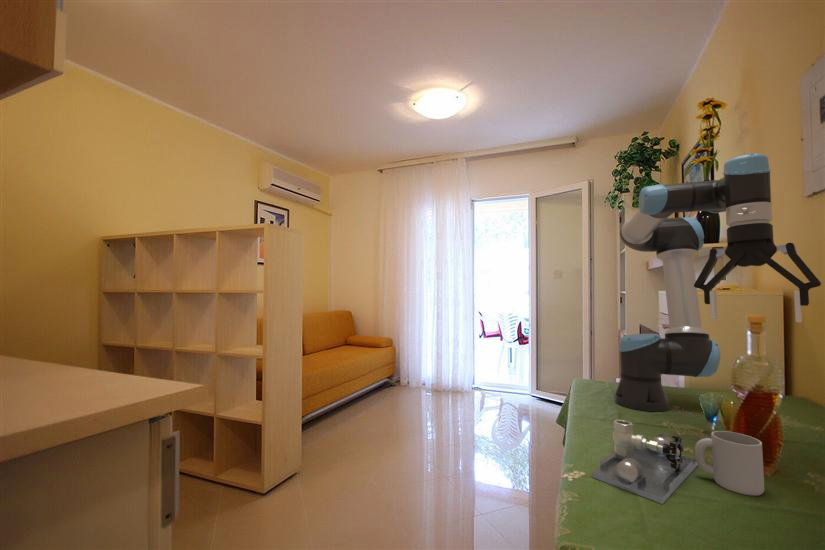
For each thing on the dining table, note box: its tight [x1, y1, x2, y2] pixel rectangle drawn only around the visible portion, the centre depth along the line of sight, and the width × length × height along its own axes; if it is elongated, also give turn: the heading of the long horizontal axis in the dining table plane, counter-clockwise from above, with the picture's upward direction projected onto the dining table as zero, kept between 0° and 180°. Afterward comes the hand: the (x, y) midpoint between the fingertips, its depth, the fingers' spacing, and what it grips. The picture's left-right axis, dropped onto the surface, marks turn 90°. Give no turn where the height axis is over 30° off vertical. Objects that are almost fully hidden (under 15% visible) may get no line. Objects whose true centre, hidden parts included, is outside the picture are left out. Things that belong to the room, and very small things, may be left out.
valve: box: [612, 419, 685, 470], centre depth 75 cm, size 7×7×12 cm
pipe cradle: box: [590, 433, 699, 505], centre depth 74 cm, size 23×12×5 cm, turn 130°
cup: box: [693, 430, 765, 497], centre depth 69 cm, size 7×10×9 cm
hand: (753, 320), depth 79 cm, fingers open, 13 cm apart
